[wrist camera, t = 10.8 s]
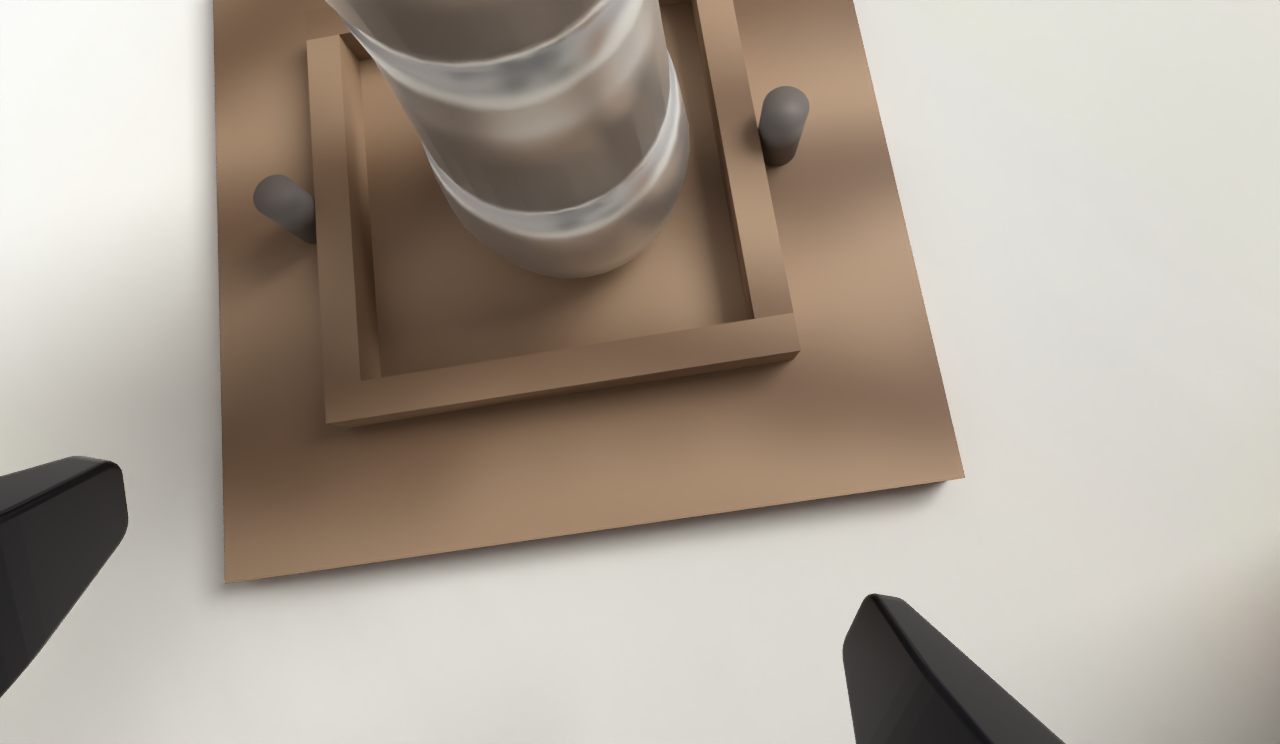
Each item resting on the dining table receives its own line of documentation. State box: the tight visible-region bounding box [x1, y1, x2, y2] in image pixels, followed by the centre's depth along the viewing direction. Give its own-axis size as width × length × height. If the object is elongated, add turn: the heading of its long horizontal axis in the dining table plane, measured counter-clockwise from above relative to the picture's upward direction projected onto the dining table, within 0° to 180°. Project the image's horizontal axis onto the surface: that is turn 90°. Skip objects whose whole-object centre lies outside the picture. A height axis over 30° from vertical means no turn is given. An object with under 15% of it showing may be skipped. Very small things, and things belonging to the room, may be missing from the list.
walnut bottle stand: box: [213, 0, 965, 584], centre depth 18 cm, size 20×20×3 cm
